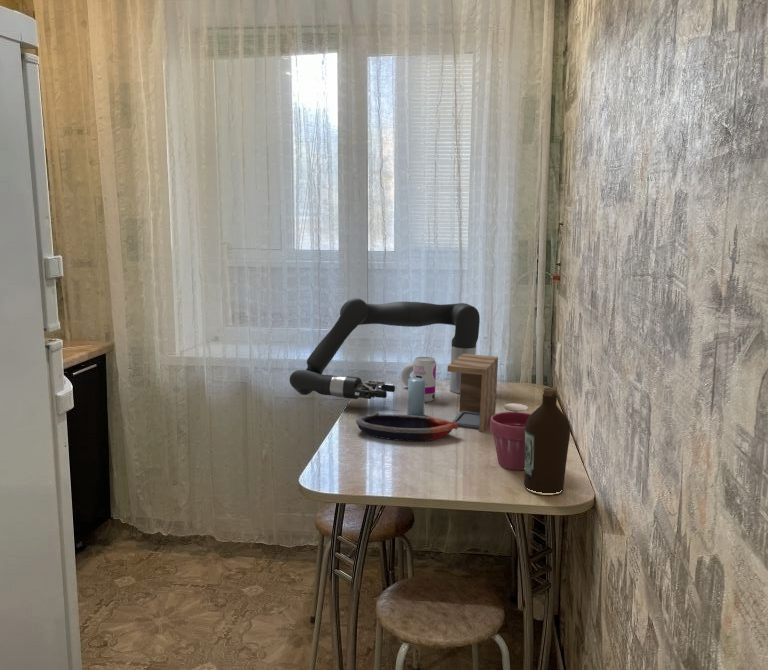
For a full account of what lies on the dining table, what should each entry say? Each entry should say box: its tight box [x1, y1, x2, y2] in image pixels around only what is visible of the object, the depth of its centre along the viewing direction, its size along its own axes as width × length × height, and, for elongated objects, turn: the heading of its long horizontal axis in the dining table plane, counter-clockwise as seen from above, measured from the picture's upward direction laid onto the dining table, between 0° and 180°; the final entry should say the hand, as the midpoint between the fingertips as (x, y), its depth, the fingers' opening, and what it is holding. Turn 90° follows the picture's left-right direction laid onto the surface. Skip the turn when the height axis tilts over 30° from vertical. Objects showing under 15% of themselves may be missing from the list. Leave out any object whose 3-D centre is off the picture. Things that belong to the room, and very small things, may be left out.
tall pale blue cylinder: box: [406, 377, 426, 416], centre depth 227 cm, size 6×6×12 cm
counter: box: [446, 354, 499, 433], centre depth 221 cm, size 21×12×20 cm, turn 161°
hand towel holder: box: [502, 402, 529, 412], centre depth 220 cm, size 17×4×20 cm
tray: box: [451, 411, 480, 430], centre depth 222 cm, size 14×9×1 cm, turn 161°
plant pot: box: [489, 411, 532, 470], centre depth 183 cm, size 14×14×13 cm
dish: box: [355, 412, 458, 442], centre depth 207 cm, size 16×31×5 cm, turn 81°
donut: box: [400, 362, 413, 387], centre depth 262 cm, size 10×4×10 cm, turn 77°
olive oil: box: [523, 387, 571, 493], centre depth 166 cm, size 11×11×25 cm
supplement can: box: [412, 356, 437, 403], centre depth 246 cm, size 8×8×15 cm
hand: (390, 391), depth 230 cm, fingers open, 8 cm apart
